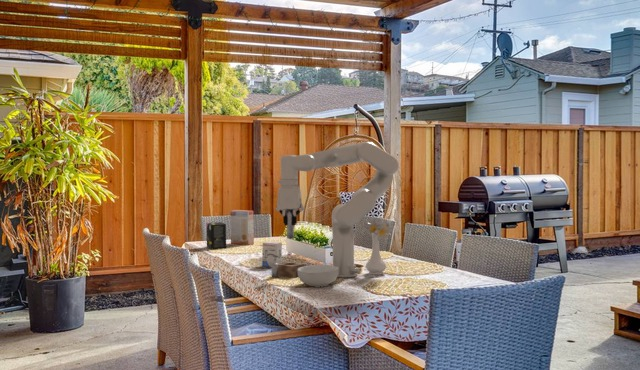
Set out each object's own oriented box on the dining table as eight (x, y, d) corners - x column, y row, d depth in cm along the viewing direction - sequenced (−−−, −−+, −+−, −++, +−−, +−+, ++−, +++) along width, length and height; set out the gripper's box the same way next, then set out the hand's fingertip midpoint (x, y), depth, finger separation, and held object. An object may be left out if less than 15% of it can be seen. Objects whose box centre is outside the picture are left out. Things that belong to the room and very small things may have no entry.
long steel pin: (292, 238, 260) (292, 206, 259) (286, 238, 260) (285, 206, 260) (294, 237, 263) (294, 205, 262) (288, 237, 263) (287, 205, 263)
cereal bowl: (315, 279, 256) (315, 263, 256) (346, 284, 246) (346, 267, 246) (289, 286, 243) (289, 268, 243) (320, 291, 233) (320, 273, 232)
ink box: (261, 266, 290) (261, 242, 289) (267, 264, 294) (267, 240, 293) (276, 267, 286) (276, 243, 285) (282, 265, 290) (281, 241, 289)
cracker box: (254, 244, 366) (253, 210, 365) (248, 245, 361) (247, 211, 360) (236, 242, 374) (236, 209, 373) (230, 243, 369) (229, 210, 368)
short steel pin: (279, 277, 262) (279, 263, 262) (275, 278, 260) (275, 264, 259) (274, 276, 264) (274, 262, 264) (270, 277, 261) (269, 263, 261)
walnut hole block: (304, 274, 267) (304, 263, 266) (293, 277, 260) (293, 266, 260) (287, 272, 272) (287, 261, 272) (275, 275, 266) (275, 264, 266)
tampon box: (206, 247, 356) (205, 222, 355) (221, 246, 360) (221, 221, 359) (211, 249, 346) (210, 224, 345) (226, 248, 350) (226, 223, 349)
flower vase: (375, 278, 256) (374, 220, 255) (355, 271, 273) (354, 217, 272) (401, 276, 262) (400, 219, 260) (379, 269, 278) (379, 216, 277)
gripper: (269, 183, 259) (269, 225, 260) (305, 183, 255) (305, 226, 256) (274, 183, 266) (275, 223, 267) (309, 182, 262) (310, 224, 263)
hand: (290, 224), depth 261 cm, fingers closed on long steel pin, 3 cm apart
